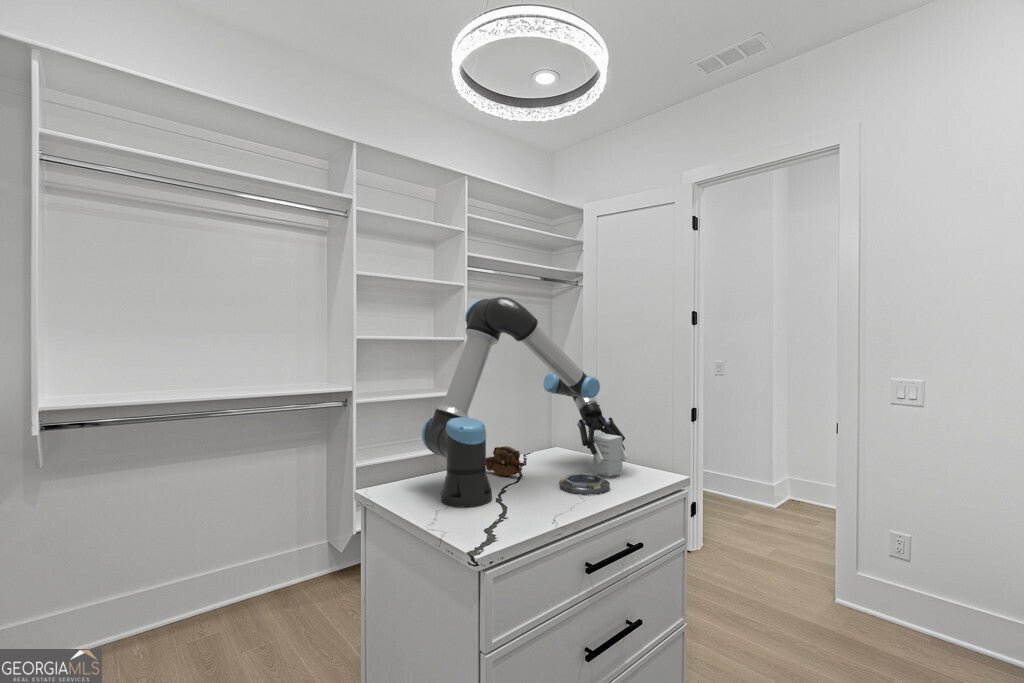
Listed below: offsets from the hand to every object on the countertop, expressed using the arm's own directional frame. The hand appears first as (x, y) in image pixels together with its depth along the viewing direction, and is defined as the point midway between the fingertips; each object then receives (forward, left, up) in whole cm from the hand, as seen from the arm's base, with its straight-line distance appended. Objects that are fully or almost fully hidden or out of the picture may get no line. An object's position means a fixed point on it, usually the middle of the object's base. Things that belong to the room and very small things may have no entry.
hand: (613, 460), depth 171 cm
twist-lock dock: (-15, -6, -6) cm, 17 cm away
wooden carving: (-33, +18, -6) cm, 38 cm away
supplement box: (0, +3, -5) cm, 6 cm away
